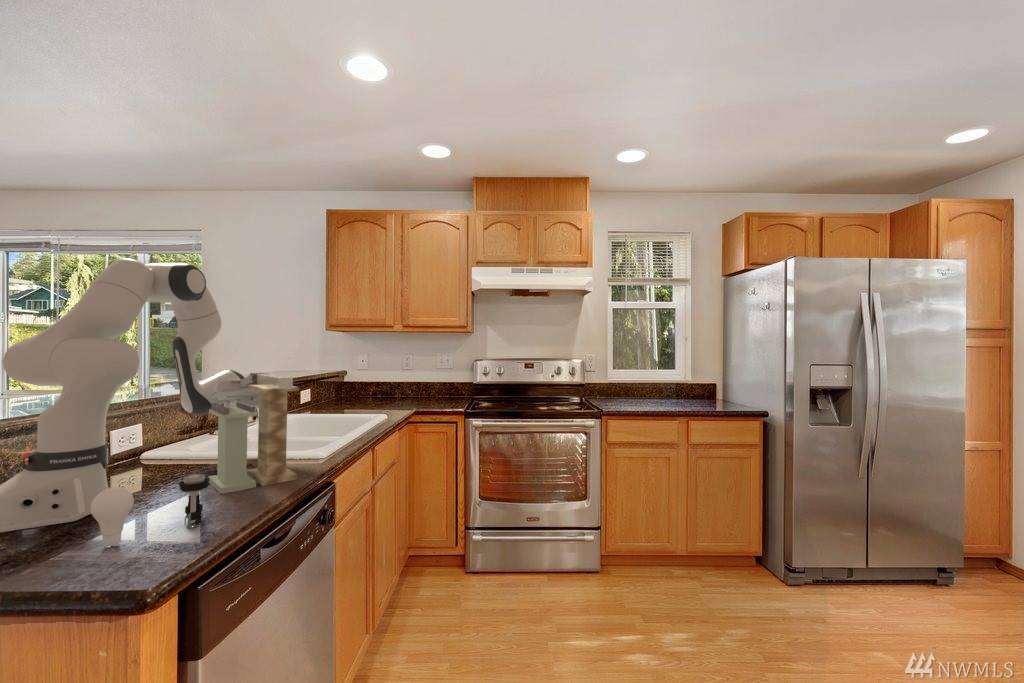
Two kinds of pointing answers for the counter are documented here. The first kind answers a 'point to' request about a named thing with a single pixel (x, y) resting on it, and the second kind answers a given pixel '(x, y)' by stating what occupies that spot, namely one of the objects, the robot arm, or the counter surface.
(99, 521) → the lightbulb
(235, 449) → the pale green pedestal
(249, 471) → the stone pillar pedestal
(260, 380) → the aluminium bar
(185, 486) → the push button
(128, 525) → the counter surface
